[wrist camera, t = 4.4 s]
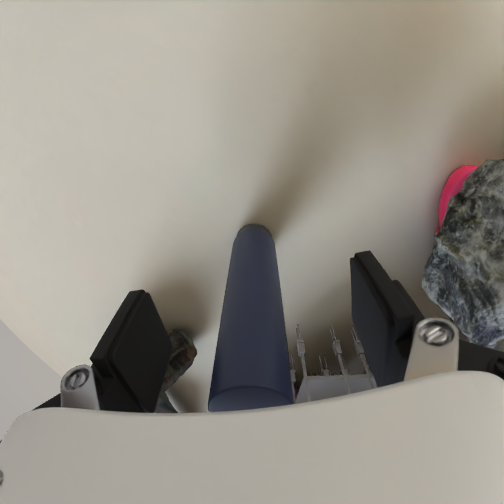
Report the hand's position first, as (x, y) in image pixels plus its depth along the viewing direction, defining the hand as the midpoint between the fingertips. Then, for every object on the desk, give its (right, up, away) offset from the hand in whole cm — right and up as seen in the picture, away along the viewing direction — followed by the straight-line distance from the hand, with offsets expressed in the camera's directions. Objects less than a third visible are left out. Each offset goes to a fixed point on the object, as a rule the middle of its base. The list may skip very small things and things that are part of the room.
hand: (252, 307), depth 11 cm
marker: (0, +3, +6) cm, 6 cm away
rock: (+19, +1, +3) cm, 19 cm away
